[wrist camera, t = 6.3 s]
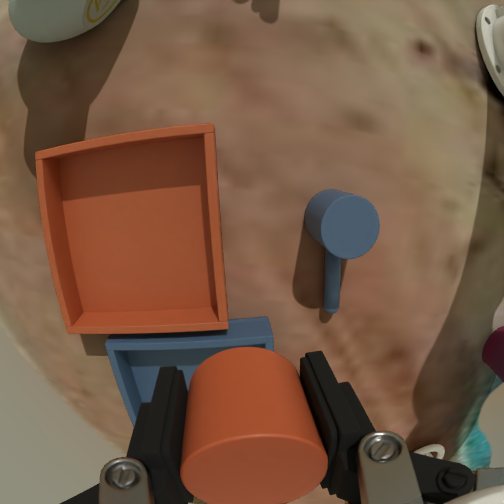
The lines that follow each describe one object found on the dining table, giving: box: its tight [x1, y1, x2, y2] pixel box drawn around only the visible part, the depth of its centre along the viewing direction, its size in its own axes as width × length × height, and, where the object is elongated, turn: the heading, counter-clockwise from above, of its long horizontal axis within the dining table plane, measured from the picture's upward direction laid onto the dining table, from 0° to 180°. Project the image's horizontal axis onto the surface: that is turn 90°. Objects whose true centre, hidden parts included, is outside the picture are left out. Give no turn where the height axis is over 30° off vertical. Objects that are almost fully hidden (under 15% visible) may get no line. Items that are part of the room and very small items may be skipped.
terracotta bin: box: [35, 123, 229, 334], centre depth 20 cm, size 13×12×3 cm
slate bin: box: [105, 317, 274, 427], centre depth 24 cm, size 13×12×3 cm
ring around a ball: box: [414, 444, 445, 459], centre depth 30 cm, size 8×6×8 cm
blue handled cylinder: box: [305, 190, 380, 314], centre depth 22 cm, size 9×4×4 cm, turn 3°
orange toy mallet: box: [180, 347, 328, 504], centre depth 9 cm, size 9×4×4 cm, turn 4°
